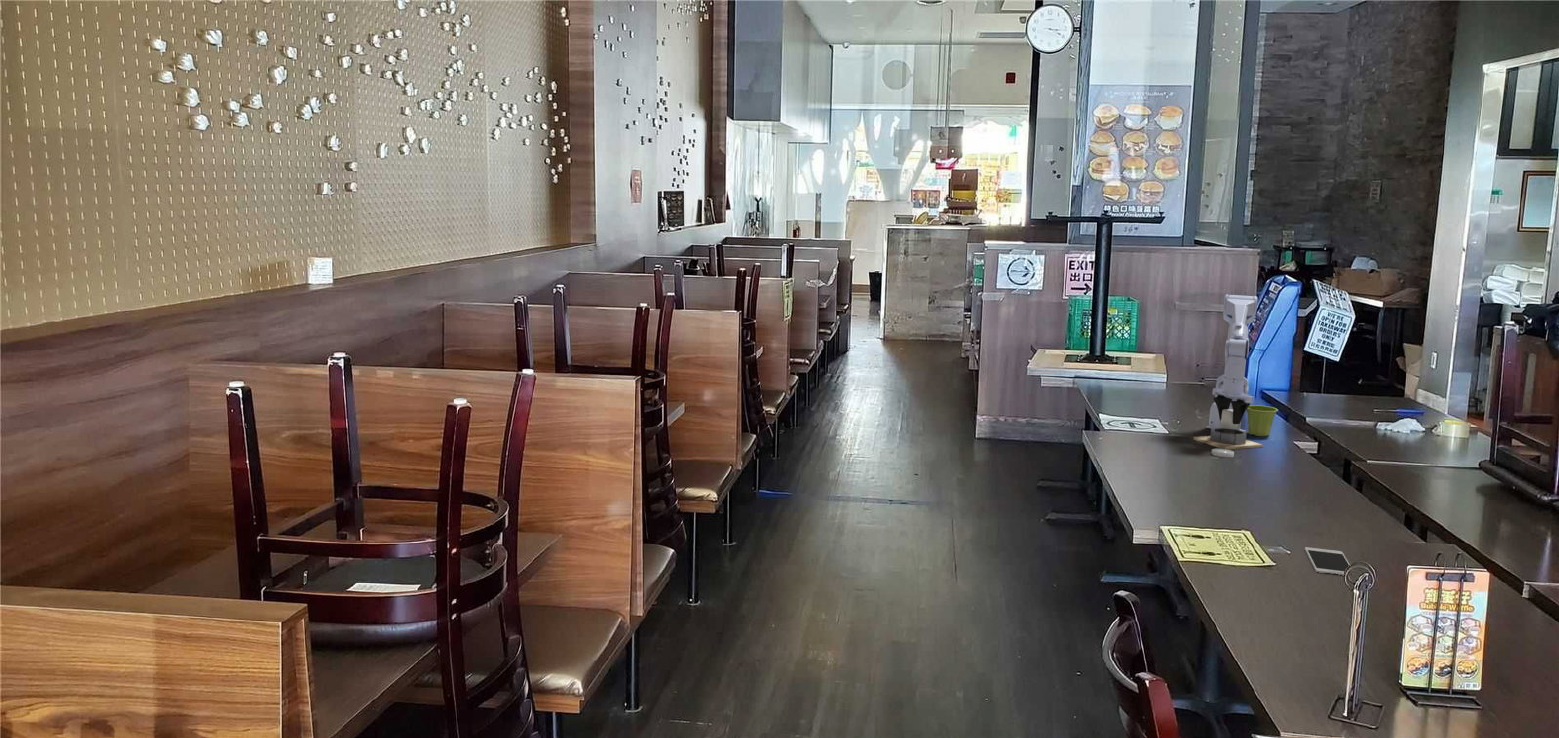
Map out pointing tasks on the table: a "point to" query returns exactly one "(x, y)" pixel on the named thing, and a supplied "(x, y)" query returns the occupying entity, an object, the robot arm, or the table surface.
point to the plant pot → (1260, 419)
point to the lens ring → (1228, 436)
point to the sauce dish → (1223, 453)
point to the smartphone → (1327, 560)
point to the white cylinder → (1228, 419)
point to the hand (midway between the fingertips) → (1229, 422)
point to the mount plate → (1228, 446)
